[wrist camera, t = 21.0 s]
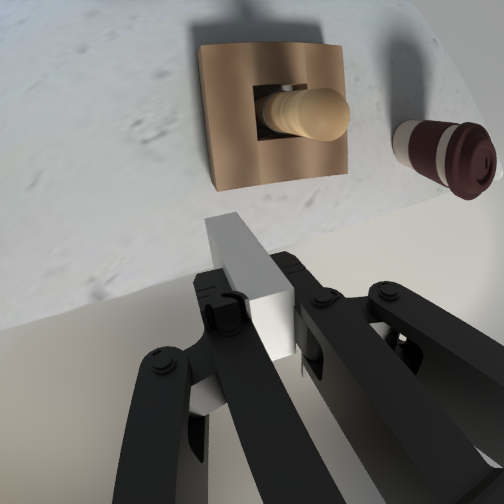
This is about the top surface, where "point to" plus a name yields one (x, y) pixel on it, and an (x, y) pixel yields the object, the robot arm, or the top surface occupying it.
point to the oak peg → (304, 113)
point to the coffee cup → (448, 154)
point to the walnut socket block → (243, 112)
